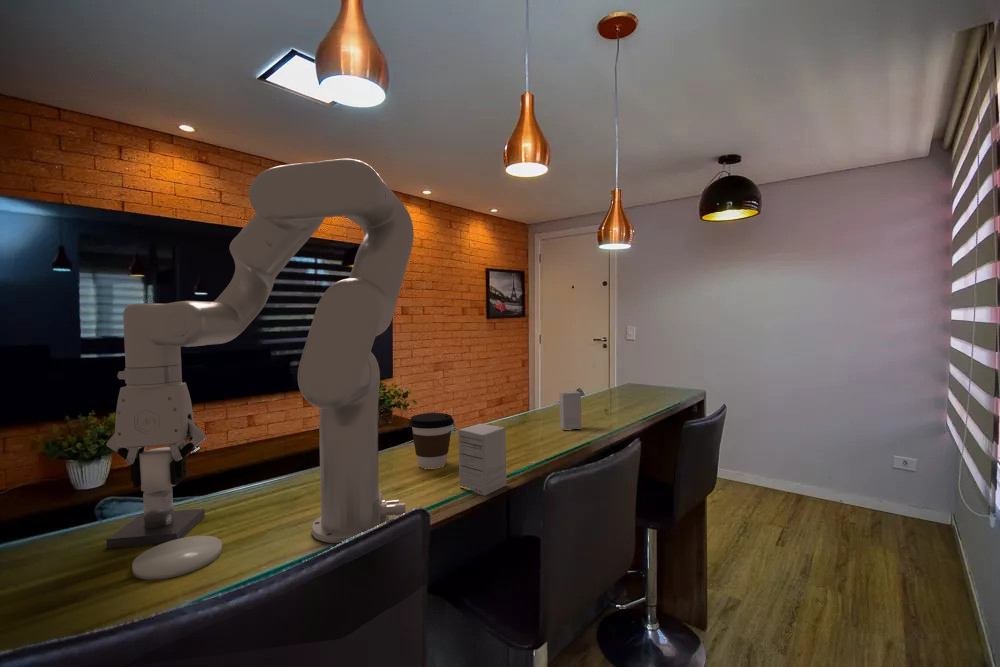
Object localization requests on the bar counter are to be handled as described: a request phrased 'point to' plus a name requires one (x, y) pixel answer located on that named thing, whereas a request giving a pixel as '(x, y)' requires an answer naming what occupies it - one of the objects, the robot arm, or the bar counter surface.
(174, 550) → the white domed disc
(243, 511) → the bar counter surface
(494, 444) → the supplement box
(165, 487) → the cap
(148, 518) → the square base with cylinder
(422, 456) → the coffee cup
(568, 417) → the skincare box
